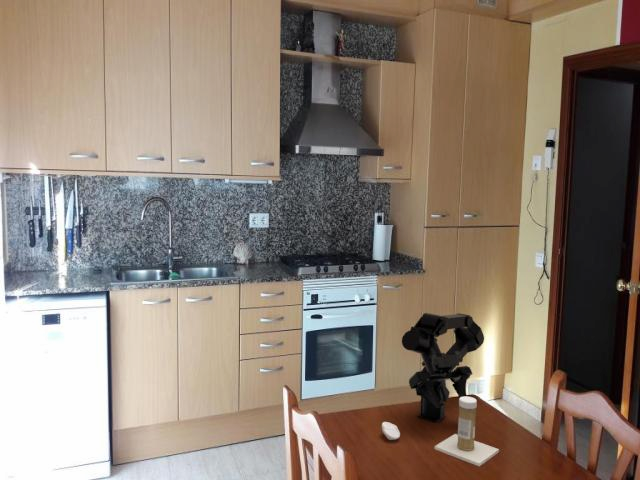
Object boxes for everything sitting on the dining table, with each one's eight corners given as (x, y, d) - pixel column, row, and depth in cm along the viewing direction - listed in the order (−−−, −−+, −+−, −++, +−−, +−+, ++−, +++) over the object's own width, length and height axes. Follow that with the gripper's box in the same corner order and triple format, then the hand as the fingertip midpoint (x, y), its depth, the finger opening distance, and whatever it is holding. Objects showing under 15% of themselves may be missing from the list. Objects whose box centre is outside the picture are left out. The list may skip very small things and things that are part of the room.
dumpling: (379, 432, 157) (380, 419, 157) (397, 432, 158) (398, 419, 157) (383, 444, 150) (384, 430, 150) (402, 444, 151) (403, 430, 150)
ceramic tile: (434, 449, 148) (434, 446, 148) (455, 436, 156) (455, 433, 156) (479, 466, 139) (479, 463, 139) (498, 452, 147) (499, 449, 147)
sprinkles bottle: (477, 448, 147) (480, 400, 146) (466, 453, 144) (469, 403, 143) (464, 442, 151) (467, 394, 150) (453, 446, 148) (455, 397, 147)
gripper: (417, 344, 153) (438, 397, 144) (470, 339, 161) (494, 389, 152) (400, 362, 161) (419, 414, 152) (451, 357, 169) (473, 405, 160)
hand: (452, 405), depth 154 cm, fingers open, 9 cm apart
